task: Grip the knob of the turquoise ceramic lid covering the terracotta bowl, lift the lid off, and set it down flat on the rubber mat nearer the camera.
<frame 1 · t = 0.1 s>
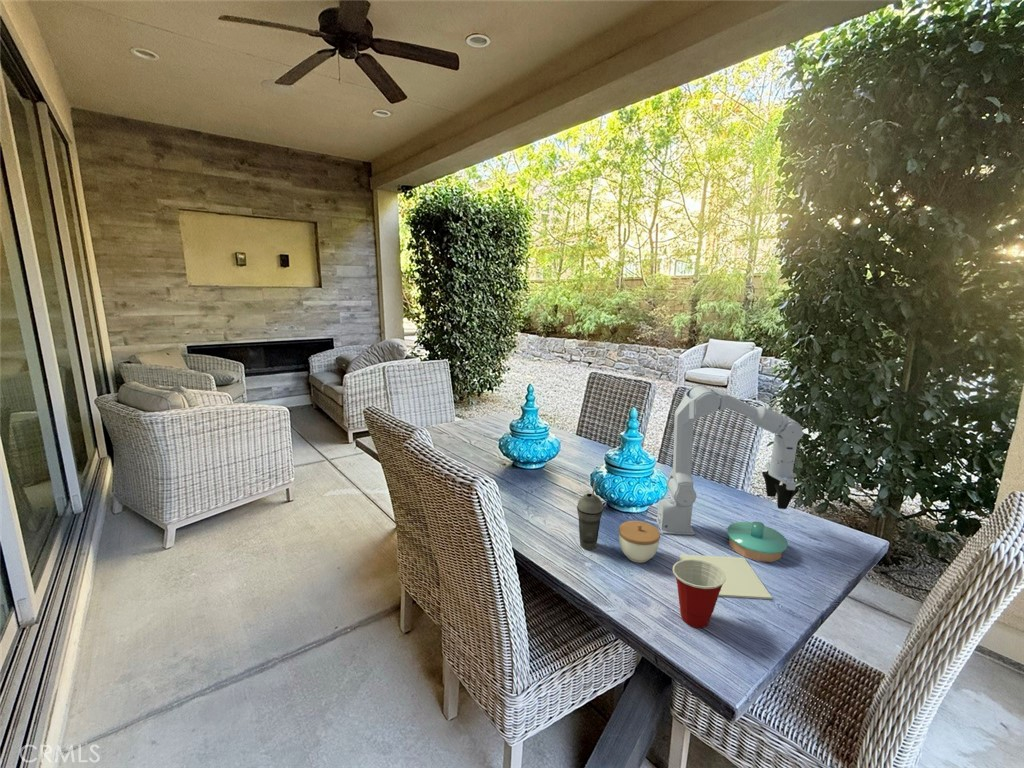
hand: (776, 502, 135), 10 cm above the table, tool pointing down, fingers open, 7 cm apart
beverage cup: (588, 546, 130), on the table
mat: (722, 576, 117), on the table
lid: (756, 538, 129), point 3 cm above the table, touching bowl
lidded jar: (637, 556, 125), on the table
bowl: (754, 547, 129), on the table
plastic cup: (693, 619, 102), on the table
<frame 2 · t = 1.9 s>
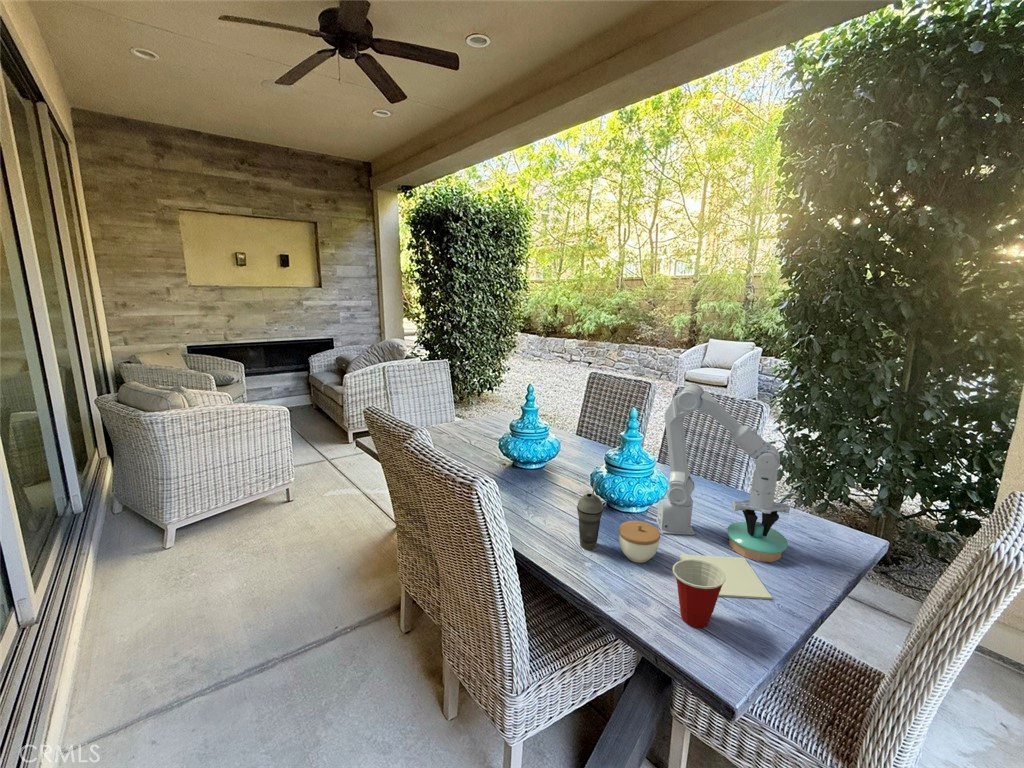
hand: (756, 534, 128), 4 cm above the table, tool pointing down, fingers closed on lid, 3 cm apart
lid: (756, 538, 129), point 3 cm above the table, touching bowl, gripper
everything else where it was.
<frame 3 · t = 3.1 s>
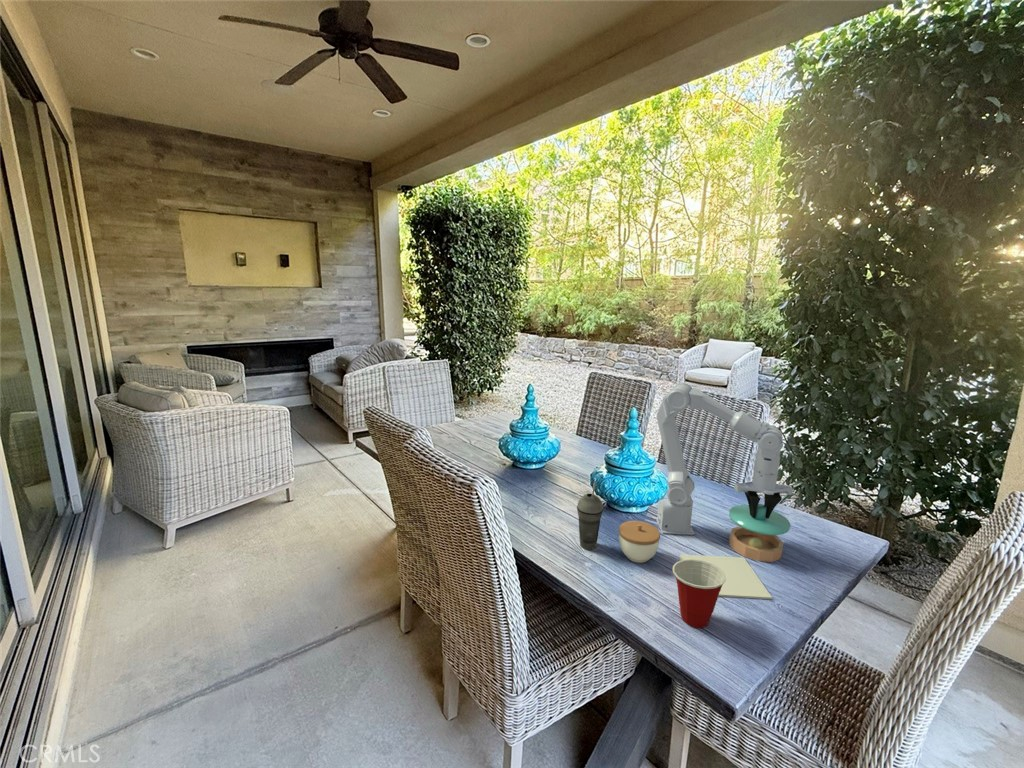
hand: (759, 516, 127), 10 cm above the table, tool pointing down, fingers closed on lid, 3 cm apart
lid: (758, 520, 127), point 8 cm above the table, touching gripper
everything else where it was.
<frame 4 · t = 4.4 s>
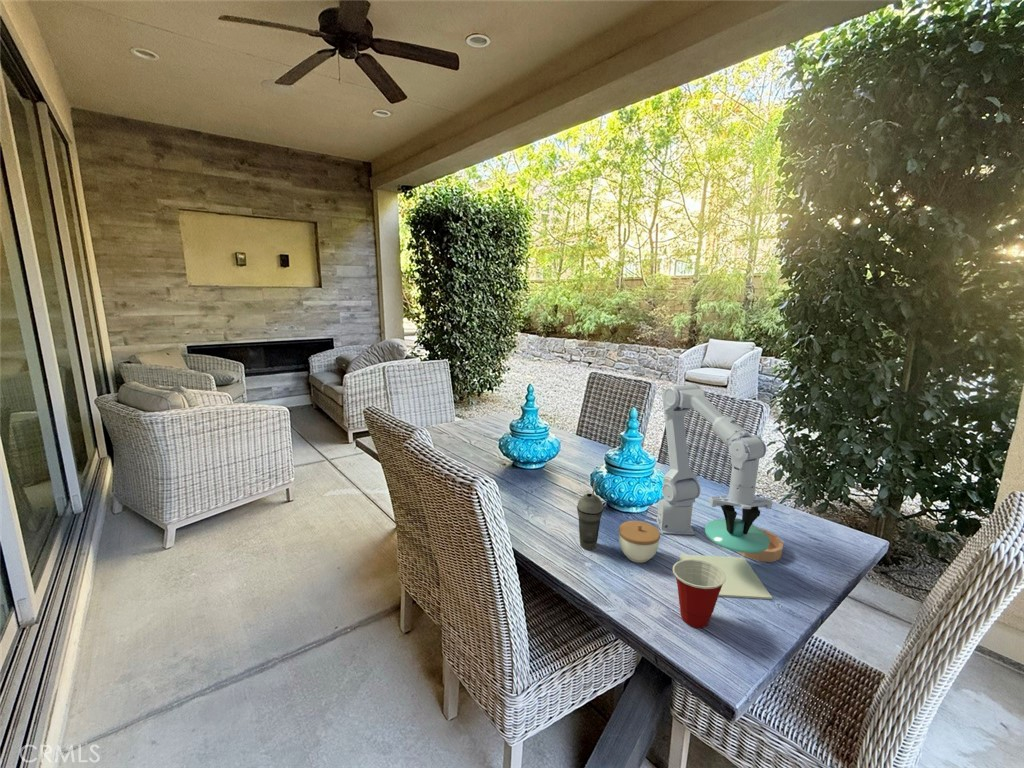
hand: (736, 532, 118), 10 cm above the table, tool pointing down, fingers closed on lid, 3 cm apart
lid: (736, 536, 118), point 9 cm above the table, touching gripper
everything else where it was.
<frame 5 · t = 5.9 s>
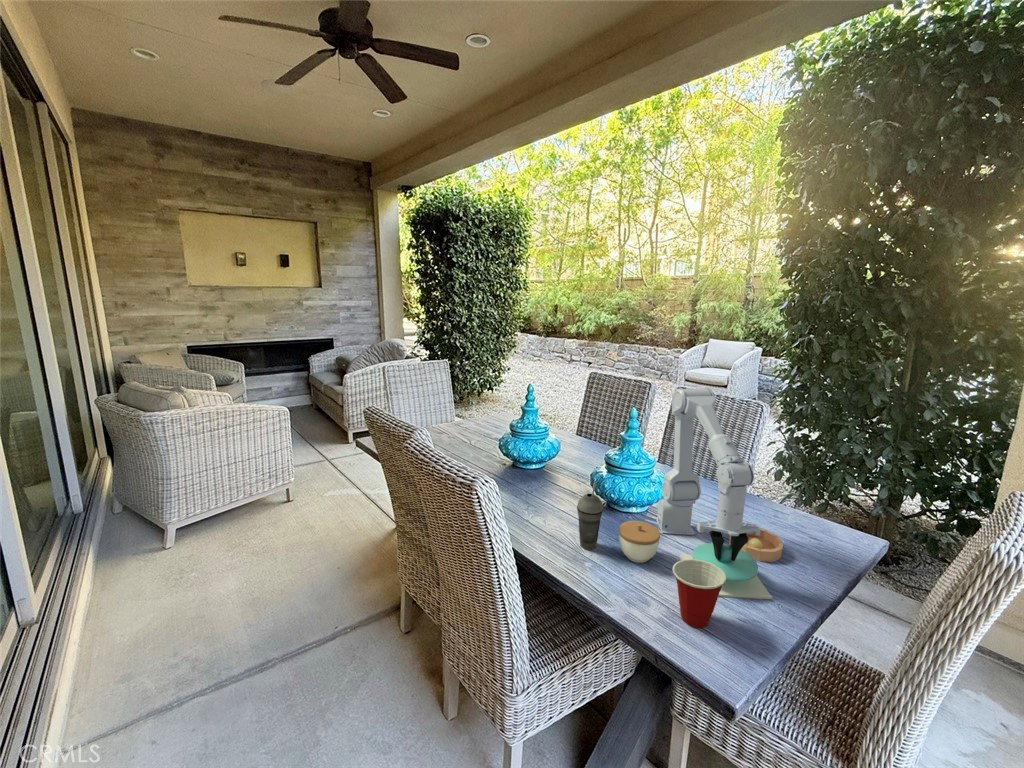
hand: (724, 558, 116), 5 cm above the table, tool pointing down, fingers closed on lid, 3 cm apart
lid: (724, 562, 116), point 4 cm above the table, touching gripper
everything else where it was.
when the fingers open (3 cm above the table, at t = 7.0 s): lid drops 1 cm, resting on mat.
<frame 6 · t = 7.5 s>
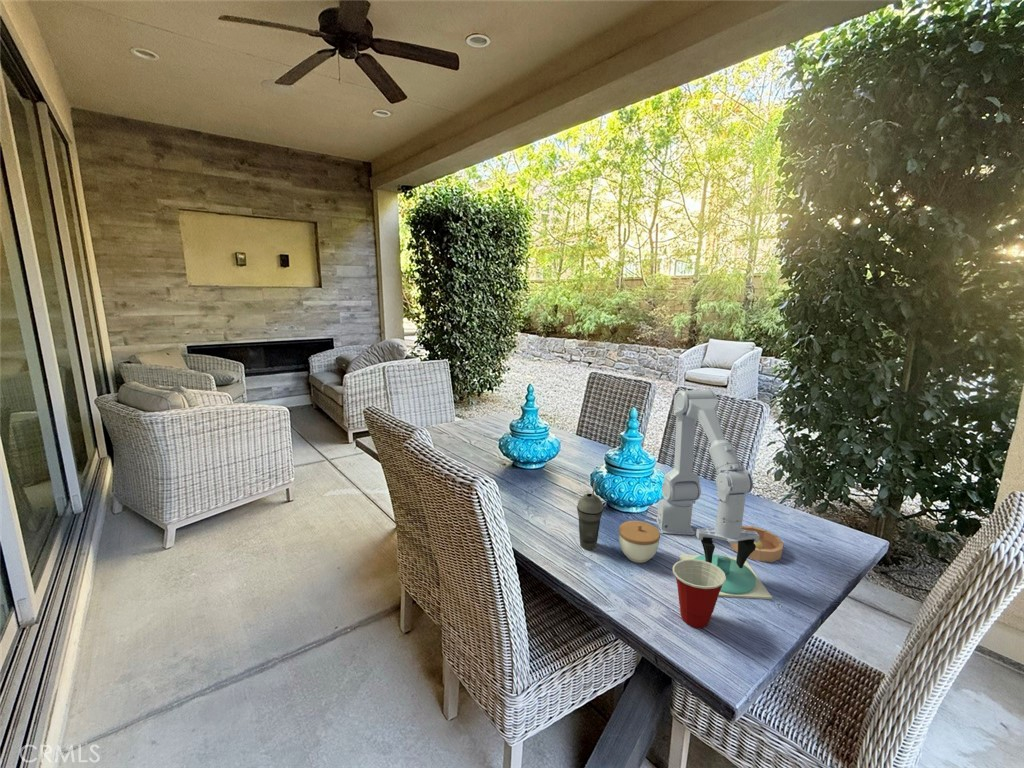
hand: (723, 565, 116), 3 cm above the table, tool pointing down, fingers open, 7 cm apart
lid: (722, 574, 117), resting on mat
everything else where it was.
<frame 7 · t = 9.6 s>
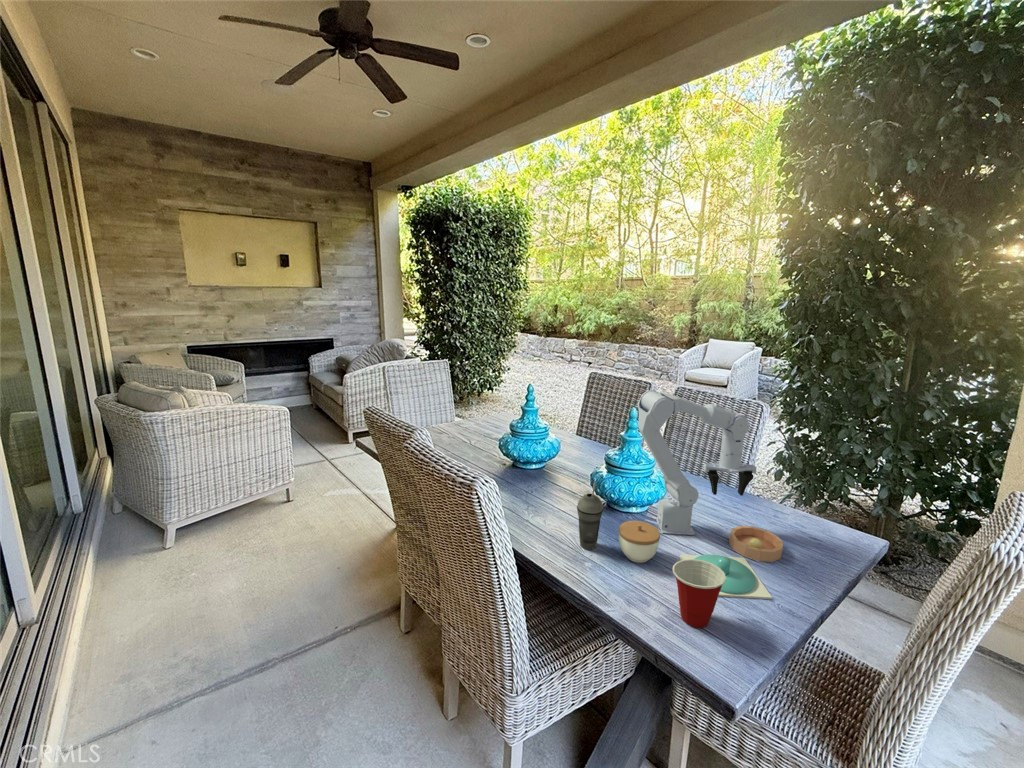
hand: (727, 493, 139), 10 cm above the table, tool pointing down, fingers open, 7 cm apart
nothing on the table moved.
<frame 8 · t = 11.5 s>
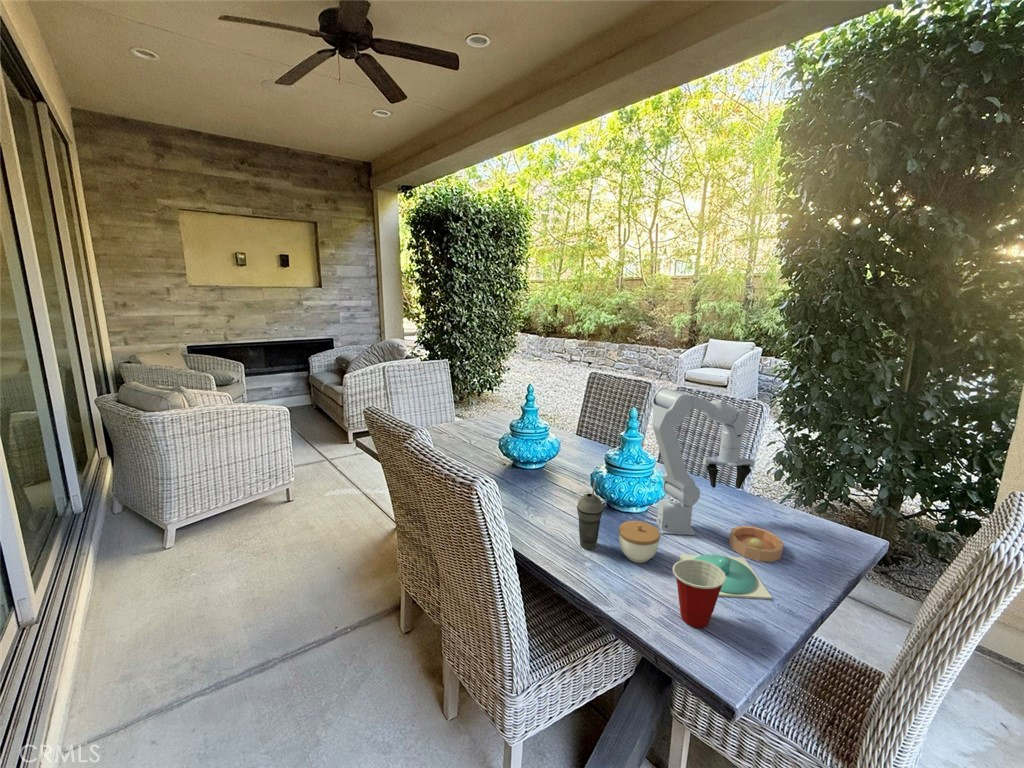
hand: (725, 486, 144), 10 cm above the table, tool pointing down, fingers open, 7 cm apart
nothing on the table moved.
at the end: lid inside the target area on the mat (0.1 cm from its centre), point 0.5 cm above the mat's base; lid tilted 0°; the gripper is holding nothing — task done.
